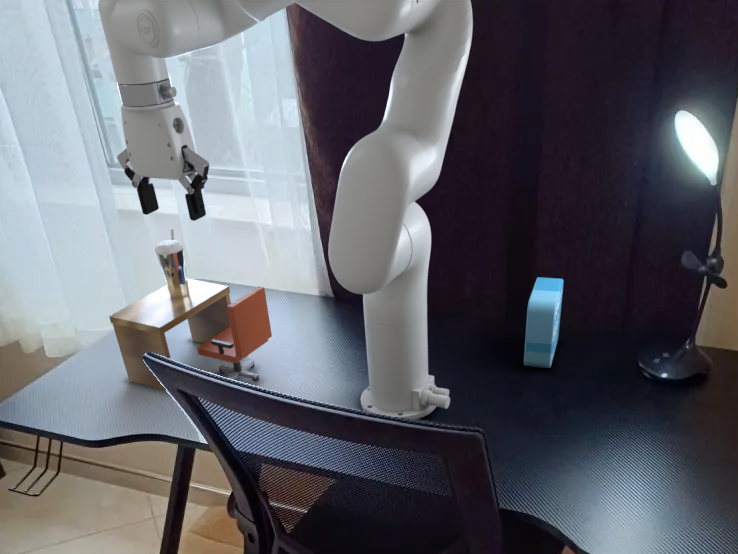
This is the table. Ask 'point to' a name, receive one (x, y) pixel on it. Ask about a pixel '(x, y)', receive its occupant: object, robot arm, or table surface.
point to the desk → (168, 324)
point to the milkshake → (173, 266)
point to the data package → (543, 322)
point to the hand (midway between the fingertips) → (174, 214)
